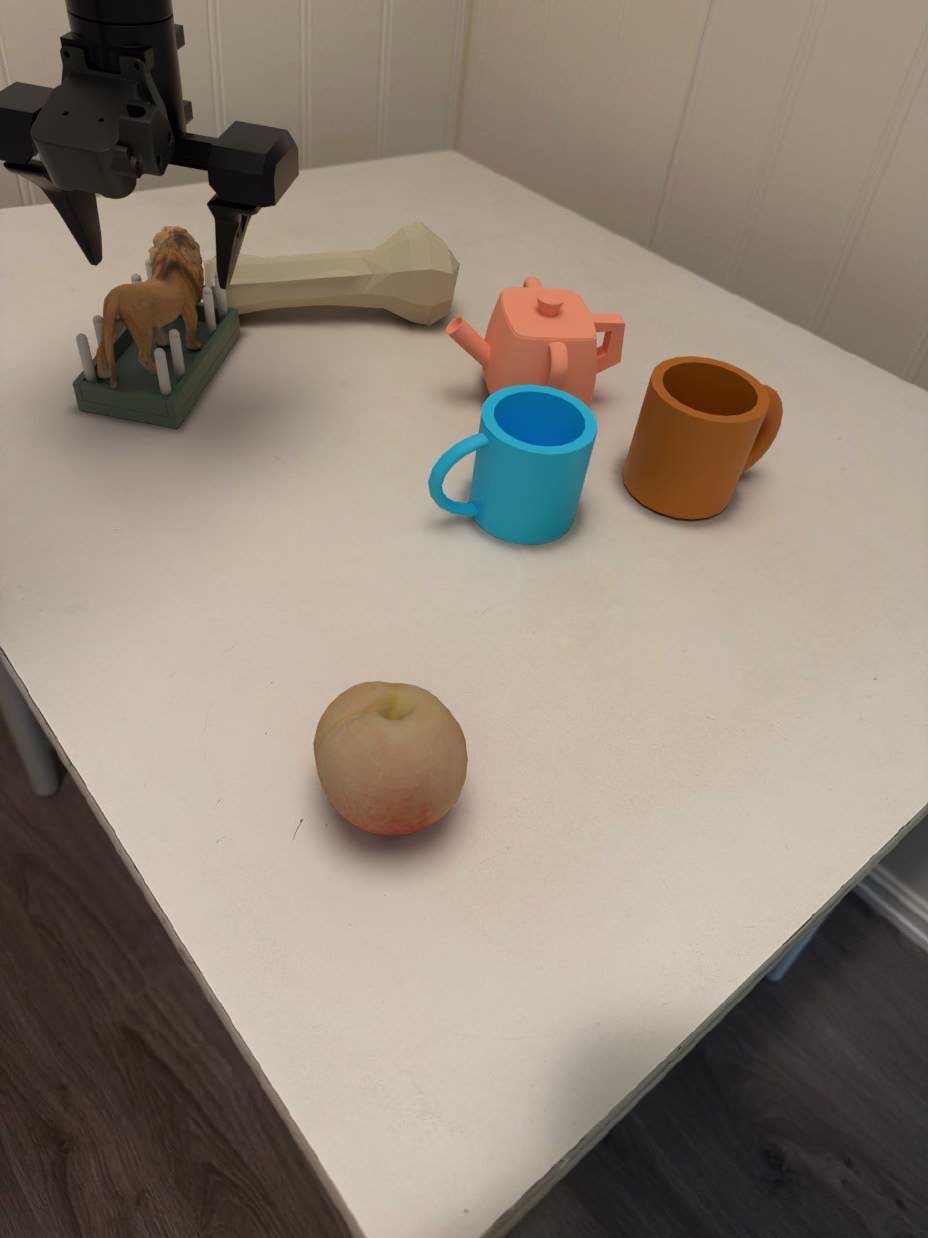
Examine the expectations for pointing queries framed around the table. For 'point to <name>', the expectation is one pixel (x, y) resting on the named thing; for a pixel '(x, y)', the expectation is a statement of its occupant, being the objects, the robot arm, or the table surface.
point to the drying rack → (159, 365)
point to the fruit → (390, 757)
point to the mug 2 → (698, 435)
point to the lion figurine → (155, 301)
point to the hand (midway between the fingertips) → (160, 274)
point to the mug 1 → (523, 464)
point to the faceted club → (351, 278)
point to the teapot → (543, 341)
